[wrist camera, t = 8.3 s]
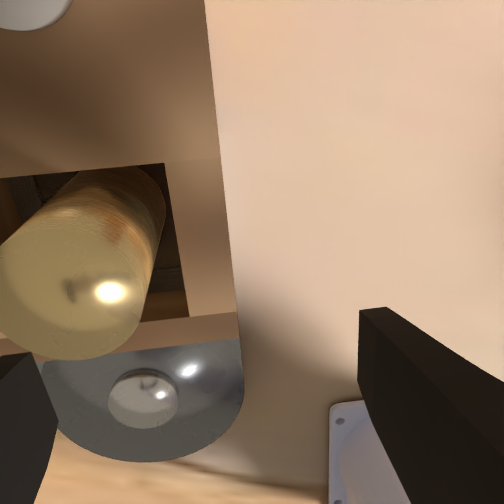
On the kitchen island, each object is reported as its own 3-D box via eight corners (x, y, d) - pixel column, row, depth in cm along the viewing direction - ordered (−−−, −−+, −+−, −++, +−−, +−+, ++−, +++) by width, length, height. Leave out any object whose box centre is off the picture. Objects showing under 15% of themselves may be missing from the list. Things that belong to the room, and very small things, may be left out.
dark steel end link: (247, 418, 23) (252, 459, 21) (81, 439, 22) (66, 484, 20) (213, 101, 16) (215, 109, 13) (-33, 122, 15) (-76, 135, 13)
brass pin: (171, 249, 18) (152, 354, 12) (76, 255, 18) (6, 366, 12) (159, 157, 16) (130, 223, 10) (54, 163, 16) (-42, 235, 10)
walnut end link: (233, 284, 19) (240, 348, 15) (33, 306, 19) (-16, 379, 15) (181, -212, 12) (167, -349, 8) (-148, -197, 12) (-346, -334, 7)
